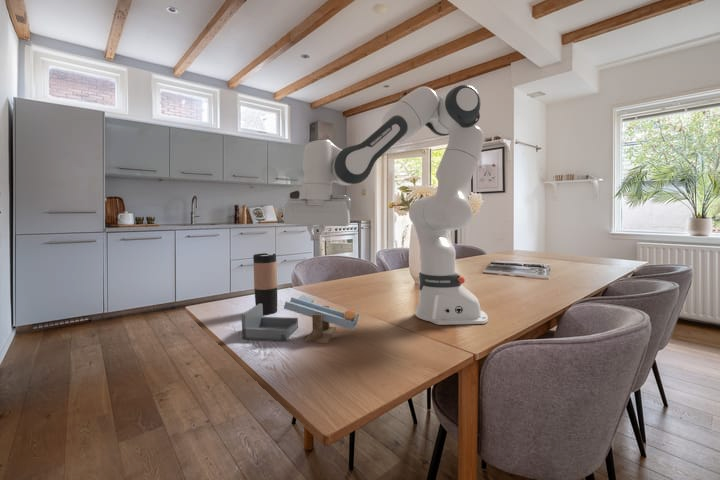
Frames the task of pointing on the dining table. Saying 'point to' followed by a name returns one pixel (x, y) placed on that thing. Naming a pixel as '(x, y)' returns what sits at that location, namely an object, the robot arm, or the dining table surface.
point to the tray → (266, 326)
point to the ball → (349, 315)
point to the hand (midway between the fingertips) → (316, 240)
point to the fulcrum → (320, 330)
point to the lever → (319, 311)
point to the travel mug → (265, 282)
